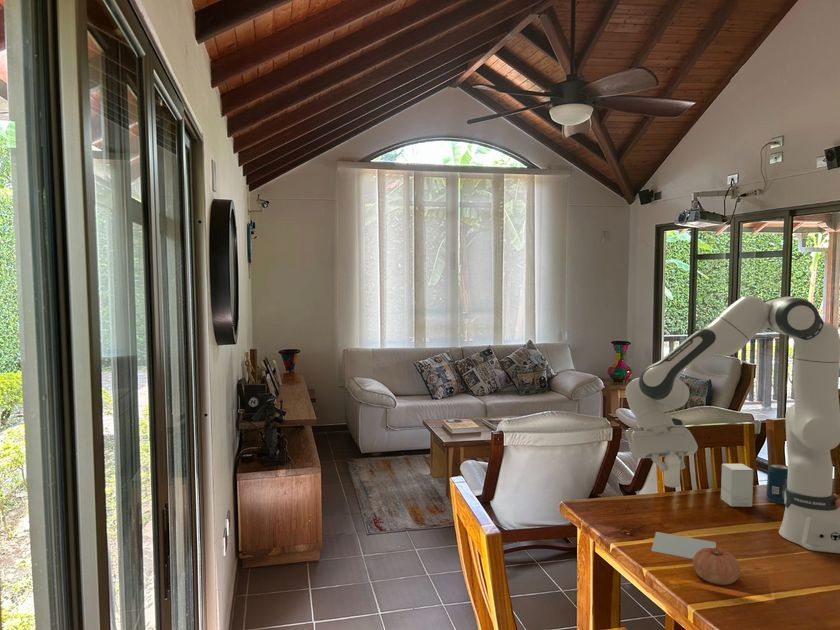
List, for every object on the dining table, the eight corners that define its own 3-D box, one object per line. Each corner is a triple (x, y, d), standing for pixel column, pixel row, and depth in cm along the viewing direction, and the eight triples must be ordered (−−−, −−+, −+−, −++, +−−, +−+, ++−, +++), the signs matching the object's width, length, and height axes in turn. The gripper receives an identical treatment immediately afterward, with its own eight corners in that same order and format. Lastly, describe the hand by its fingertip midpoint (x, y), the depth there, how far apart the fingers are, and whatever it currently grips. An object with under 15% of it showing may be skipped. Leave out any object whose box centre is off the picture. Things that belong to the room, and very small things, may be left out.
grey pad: (715, 545, 172) (715, 542, 171) (715, 566, 159) (715, 563, 159) (655, 535, 179) (655, 531, 179) (651, 554, 166) (651, 550, 166)
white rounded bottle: (680, 483, 175) (681, 450, 174) (679, 488, 171) (680, 454, 171) (663, 481, 177) (664, 448, 176) (662, 485, 173) (663, 452, 172)
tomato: (686, 569, 158) (687, 539, 157) (729, 571, 157) (730, 541, 156) (701, 590, 147) (702, 559, 146) (747, 593, 146) (748, 561, 145)
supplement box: (752, 507, 201) (754, 469, 200) (730, 506, 201) (731, 469, 200) (741, 498, 208) (742, 463, 207) (720, 498, 208) (721, 462, 208)
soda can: (770, 495, 212) (771, 461, 211) (792, 500, 207) (794, 466, 206) (763, 500, 207) (764, 465, 206) (786, 505, 202) (787, 470, 201)
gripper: (627, 423, 178) (645, 465, 169) (688, 420, 182) (709, 461, 173) (619, 434, 182) (636, 476, 173) (679, 431, 186) (698, 471, 177)
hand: (673, 468), depth 173 cm, fingers closed on white rounded bottle, 4 cm apart
